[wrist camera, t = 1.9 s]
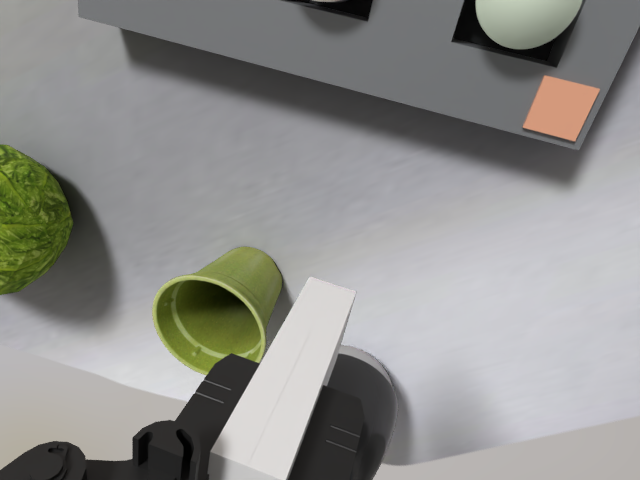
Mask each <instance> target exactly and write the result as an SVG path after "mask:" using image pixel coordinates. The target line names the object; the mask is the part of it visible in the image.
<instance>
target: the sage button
mask: <svg viewBox="0 0 640 480" xmlns="http://www.w3.org/2000/svg"><path fill="white" fill-rule="evenodd" d="M581 3H582V0H475V9H476V15H477V19H478V21H479V24H480V25H481V27H482V29H483V30H484V31H485V33H486V34H487V35H488V36H489V37H490V38H491V39H492V40H493V41H495V42H496V43H498V44H500V45H502V46H504V47H508V48H512V49H530V48H534V47H538V46H540V45H543V44H545V43H547V42H549V41H551V40H552V39H554V38H555V37H557V36H558V35H559V34H560V33H562V32H563V31H564V30H565V29H566V28H567V27H568V25H569V24H570V23H571V22H572V20H573V19H574V17H575V16H576V14H577V12H578V10H579V8H580V6H581Z"/></svg>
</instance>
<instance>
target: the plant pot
mask: <svg viewBox="0 0 640 480" xmlns="http://www.w3.org/2000/svg"><path fill="white" fill-rule="evenodd" d="M281 288H282V276H281V273H280V272H279V271H278V269H277V267H276V265H275V263H274V261H273V260H272V258H270V257H269V256H268V255H267V254H265V253H264V252H262V251H260V250H258V249H255V248H251V247H239V248H236V249H233V250H231V251H229V252H227V253H226V254H224V255H223V256H221V257H220V258H218V259H217V260H215V261H214V262H212V263H211V264H209V265H207V266H206V267H204V268H203V269H201V270H200V271H198V272H196V273H193V274H189V275H182V276H179V277H176V278H173V279H171V280H170V281H168V282H167V283H165V284H164V285H163V286H162V287H161V288H160V289H159V291H158V292H157V294H156V296H155V298H154V301H153V308H152V316H153V322H154V326H155V329H156V331H157V334H158V336H159V337H160V339H161V341H162V343H163V344H164V345H165V347H166V348H167V349H168V350H169V352H170V353H171V354H172V355H173V356H174V357H175V358H177V359H178V360H179V361H180V362H181V363H183V364H184V365H186V366H187V367H189V368H190V369H192V370H194V371H196V372H199V373H201V374H204V375H207V374H208V373H209V371H210V370H211V368H212V367H213V366H214V364H215V363H216V362H218V361H220V360H221V359H223V358H224V357H226V356H227V355H229V354H231V353H233V354H235V355H238V356H241V357H244V358H246V359H249V360H252V361H255V362H257V363H259V362H260V361H261V359H262V357H263V355H264V352H265V348H266V327H267V325H268V322H269V319H270V317H271V314H272V311H273V309H274V306H275V304H276V301H277V299H278V296H279V294H280V291H281Z"/></svg>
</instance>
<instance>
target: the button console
mask: <svg viewBox="0 0 640 480" xmlns="http://www.w3.org/2000/svg"><path fill="white" fill-rule="evenodd" d="M464 2H465V0H373V2H372V6H371V11H370V15H369V18H367V17H363V16H359V15H354V14H350V13H346V12H342V11H338V10H334V9H330V8H326V7H321V6H317V5H313V4H309V3H305V2H301V1H297V0H78V12H79V17H81V18H85V19H89V20H93V21H96V22H100V23H104V24H107V25H111V26H115V27H119V28H122V29H126V30H130V31H134V32H137V33H141V34H145V35H149V36H152V37H156V38H160V39H164V40H167V41H171V42H175V43H179V44H182V45H186V46H190V47H193V48H197V49H201V50H205V51H208V52H212V53H216V54H220V55H223V56H227V57H231V58H235V59H238V60H242V61H246V62H250V63H253V64H257V65H261V66H264V67H268V68H272V69H276V70H279V71H283V72H287V73H291V74H294V75H298V76H302V77H306V78H309V79H313V80H317V81H321V82H324V83H328V84H332V85H336V86H339V87H343V88H347V89H350V90H354V91H358V92H362V93H365V94H369V95H373V96H377V97H380V98H384V99H388V100H392V101H395V102H399V103H403V104H407V105H410V106H414V107H418V108H422V109H425V110H429V111H433V112H436V113H440V114H444V115H448V116H451V117H455V118H459V119H463V120H466V121H470V122H474V123H478V124H481V125H485V126H489V127H493V128H496V129H500V130H504V131H508V132H511V133H515V134H519V135H522V136H526V137H530V138H534V139H537V140H541V141H545V142H549V143H552V144H556V145H560V146H564V147H567V148H571V149H575V150H579V149H580V147H581V145H582V143H583V141H584V139H585V137H586V135H587V133H588V131H589V129H590V127H591V125H592V123H593V121H594V119H595V117H596V114H597V112H598V110H599V108H600V106H601V104H602V102H603V100H604V98H605V96H606V94H607V92H608V90H609V88H610V86H611V84H612V82H613V80H614V78H615V76H616V74H617V72H618V70H619V68H620V66H621V63H622V61H623V59H624V57H625V55H626V53H627V51H628V49H629V47H630V45H631V43H632V41H633V39H634V37H635V35H636V33H637V31H638V29H639V27H640V0H582V3H581V6H580V8H579V10H578V12H577V14H576V16H575V17H574V19H573V20H572V22H571V23H570V24H569V25H568V27H567V28H566V29H565V30H564V31H563V32H562V33H560V34H559V35H558V36H557V37H556V40H555V42H554V44H553V47H552V49H551V52H550V54H549V56H548V59H547V61H544V60H540V59H536V58H532V57H528V56H524V55H520V54H516V53H511V52H507V51H503V50H499V49H495V48H491V47H487V46H482V45H478V44H474V43H470V42H466V41H462V40H458V39H454V38H453V37H454V33H455V30H456V27H457V24H458V21H459V18H460V14H461V11H462V8H463V5H464Z"/></svg>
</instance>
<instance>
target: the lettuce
mask: <svg viewBox="0 0 640 480" xmlns="http://www.w3.org/2000/svg"><path fill="white" fill-rule="evenodd" d="M72 227H73V220H72V216H71V213H70V209H69V206H68V202H67V200H66V198H65V196H64V194H63V192H62V189H61V187H60V185H59V183H58V182H57V181H56V179H55V178H54V177H53V176H52V175H51V173H50V172H49V171H48V170H47V169H46V168H45V167H44V166H43V165H41V164H40V163H38V162H37V161H35V160H34V159H32V158H31V157H29V156H27V155H25V154H23V153H21V152H20V151H18V150H16V149H14V148H12V147H10V146H8V145H0V295H2V294H8V293H13V292H19V291H20V290H22V289H23V288H25V287H26V286H28V285H29V284H31V283H32V282H33V281H35V280H36V279H38V278H39V277H41V276H42V275H44V274H45V273H46V272H47V271H48V270H49V269H50V268H51V267H52V266H53V265H54V263H55V262H56V260H57V259H58V257H59V256H60V254H61V253H62V251H63V250H64V248H65V247H66V245H67V242H68V239H69V236H70V233H71V230H72Z"/></svg>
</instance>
